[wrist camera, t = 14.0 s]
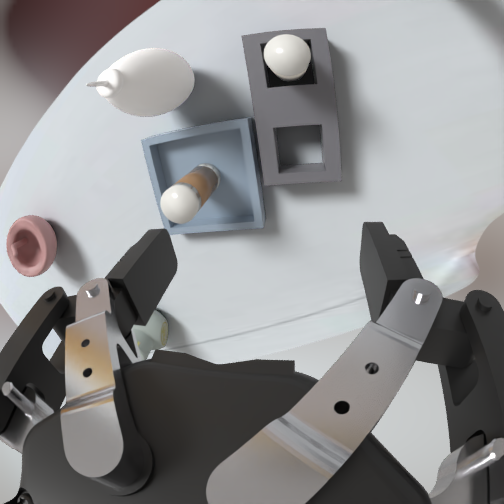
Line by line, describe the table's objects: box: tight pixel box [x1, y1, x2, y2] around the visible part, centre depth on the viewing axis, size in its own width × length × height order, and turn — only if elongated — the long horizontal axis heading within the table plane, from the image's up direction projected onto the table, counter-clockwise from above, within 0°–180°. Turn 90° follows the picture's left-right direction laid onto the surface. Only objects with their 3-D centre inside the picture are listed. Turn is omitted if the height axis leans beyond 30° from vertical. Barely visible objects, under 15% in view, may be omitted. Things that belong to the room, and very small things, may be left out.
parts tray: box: [141, 117, 266, 235], centre depth 35 cm, size 14×14×3 cm
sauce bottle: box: [86, 48, 195, 117], centre depth 22 cm, size 8×8×18 cm
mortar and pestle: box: [7, 215, 57, 277], centre depth 42 cm, size 12×12×12 cm
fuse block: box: [242, 28, 342, 186], centre depth 28 cm, size 18×9×4 cm, turn 8°
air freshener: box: [132, 310, 168, 360], centre depth 50 cm, size 11×8×10 cm
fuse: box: [264, 34, 311, 82], centre depth 23 cm, size 4×4×10 cm
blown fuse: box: [160, 163, 221, 224], centre depth 32 cm, size 4×4×10 cm
